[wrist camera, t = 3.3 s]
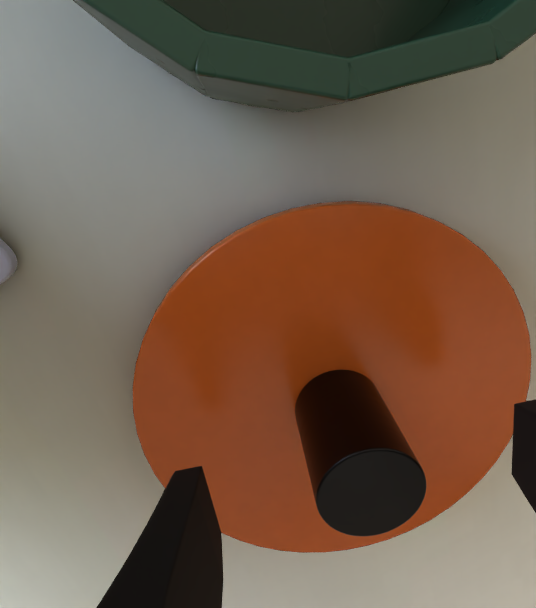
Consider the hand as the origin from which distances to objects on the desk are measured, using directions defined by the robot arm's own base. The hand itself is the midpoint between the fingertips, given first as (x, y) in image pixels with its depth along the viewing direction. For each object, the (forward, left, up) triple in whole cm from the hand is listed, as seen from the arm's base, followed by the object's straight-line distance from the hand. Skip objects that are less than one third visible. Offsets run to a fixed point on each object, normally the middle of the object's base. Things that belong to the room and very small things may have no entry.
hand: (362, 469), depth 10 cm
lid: (0, 0, -3) cm, 3 cm away
